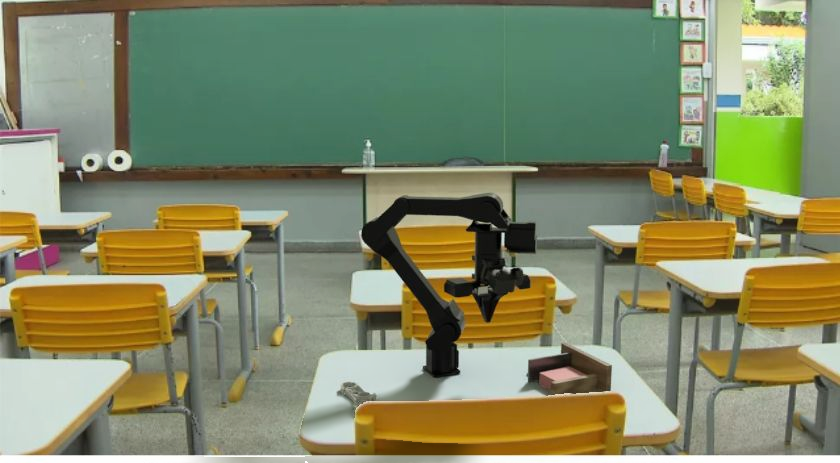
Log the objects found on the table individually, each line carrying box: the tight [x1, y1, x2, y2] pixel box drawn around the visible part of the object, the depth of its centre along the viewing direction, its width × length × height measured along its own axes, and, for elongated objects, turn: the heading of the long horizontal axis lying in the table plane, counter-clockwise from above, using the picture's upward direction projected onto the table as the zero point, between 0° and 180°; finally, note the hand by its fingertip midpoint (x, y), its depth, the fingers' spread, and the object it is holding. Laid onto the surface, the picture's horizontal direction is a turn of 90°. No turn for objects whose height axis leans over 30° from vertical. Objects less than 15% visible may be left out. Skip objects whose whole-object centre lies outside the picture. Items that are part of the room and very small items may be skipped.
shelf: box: [526, 342, 613, 395], centre depth 161 cm, size 12×16×6 cm
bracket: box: [340, 381, 378, 413], centre depth 153 cm, size 8×2×15 cm
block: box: [538, 366, 586, 392], centre depth 161 cm, size 8×6×3 cm
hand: (487, 322), depth 165 cm, fingers closed
